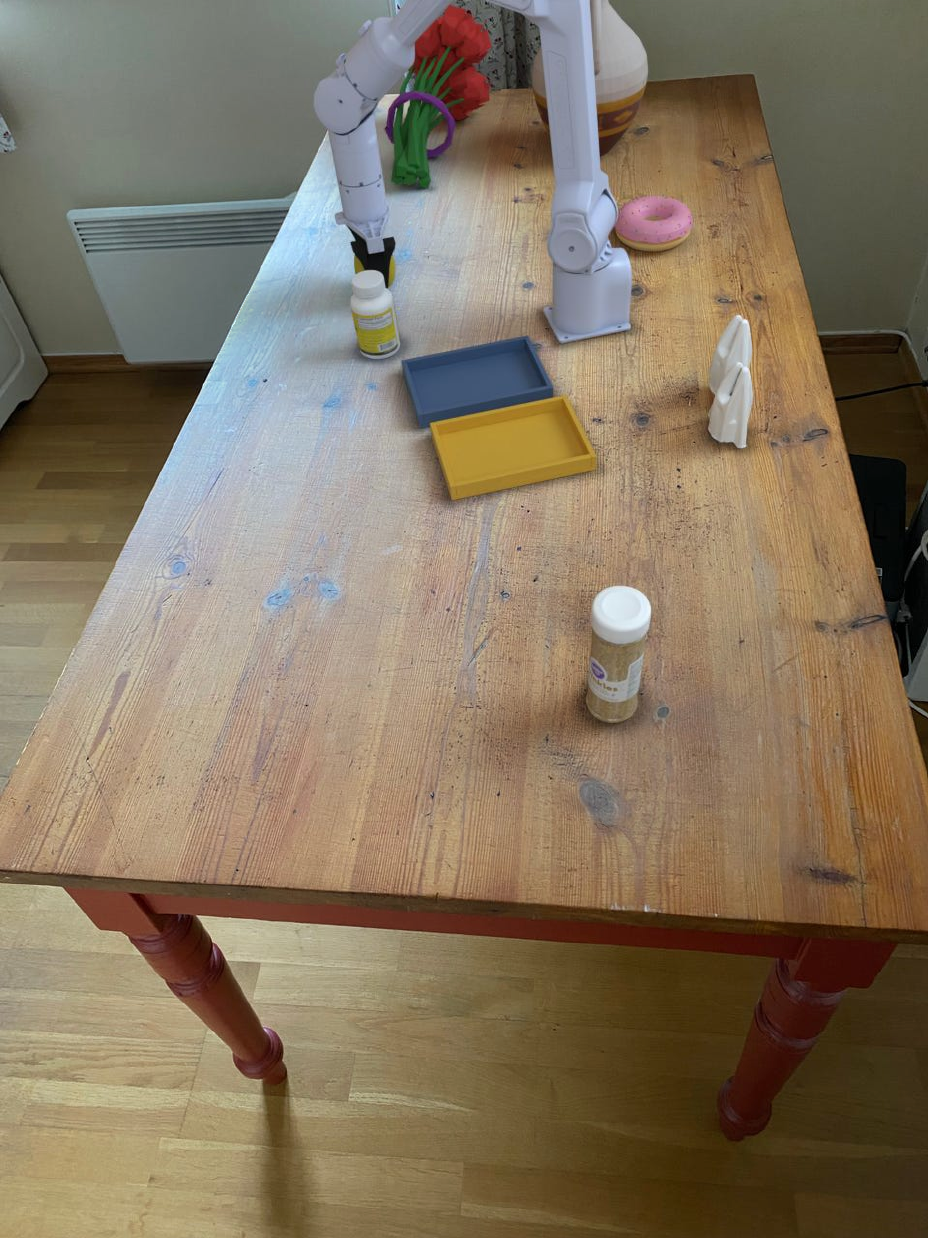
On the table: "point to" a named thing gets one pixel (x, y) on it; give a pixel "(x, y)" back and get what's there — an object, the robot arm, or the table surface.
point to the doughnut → (653, 223)
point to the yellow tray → (511, 447)
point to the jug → (607, 75)
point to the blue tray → (475, 380)
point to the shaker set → (731, 384)
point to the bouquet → (437, 91)
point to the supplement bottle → (374, 315)
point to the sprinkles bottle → (616, 652)
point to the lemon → (360, 268)
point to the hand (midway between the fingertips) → (376, 277)
